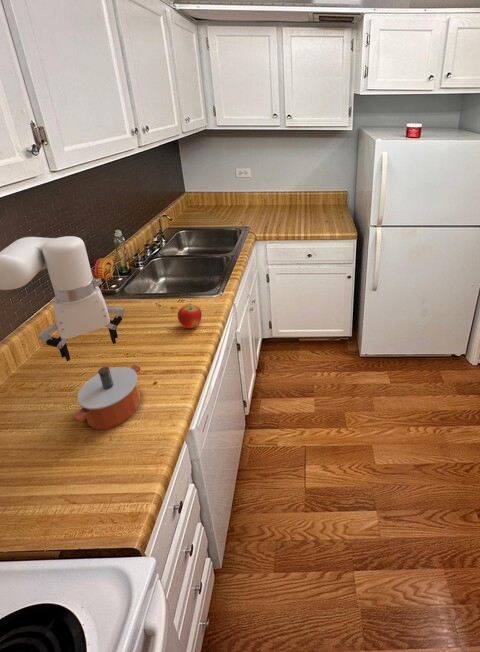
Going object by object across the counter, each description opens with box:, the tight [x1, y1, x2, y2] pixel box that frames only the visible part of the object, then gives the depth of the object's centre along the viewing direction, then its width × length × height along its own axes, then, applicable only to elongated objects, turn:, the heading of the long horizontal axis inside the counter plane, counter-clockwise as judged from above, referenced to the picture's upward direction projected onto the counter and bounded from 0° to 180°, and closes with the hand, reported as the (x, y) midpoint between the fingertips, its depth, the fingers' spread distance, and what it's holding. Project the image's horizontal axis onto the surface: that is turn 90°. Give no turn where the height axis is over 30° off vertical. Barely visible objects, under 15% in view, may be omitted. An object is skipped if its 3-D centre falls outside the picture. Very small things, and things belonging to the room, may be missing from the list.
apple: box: [177, 302, 203, 329], centre depth 121 cm, size 8×8×10 cm
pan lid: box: [77, 366, 139, 410], centre depth 86 cm, size 14×14×7 cm
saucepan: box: [72, 364, 142, 430], centre depth 89 cm, size 13×18×7 cm
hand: (91, 348), depth 82 cm, fingers open, 9 cm apart
